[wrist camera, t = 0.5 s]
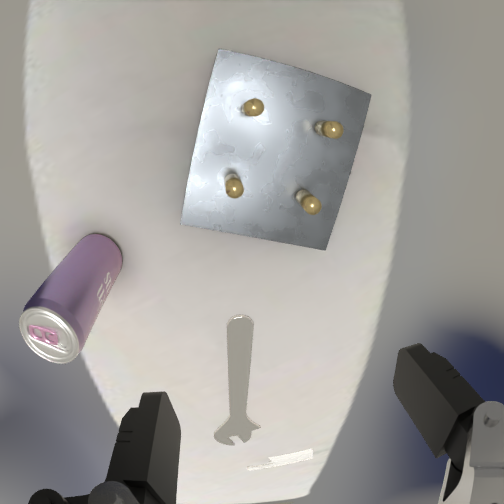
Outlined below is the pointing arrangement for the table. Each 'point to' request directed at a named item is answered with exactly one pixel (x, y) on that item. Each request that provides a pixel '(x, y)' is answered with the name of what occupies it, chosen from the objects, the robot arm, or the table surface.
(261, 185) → the chassis plate
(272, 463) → the white plastic blade
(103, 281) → the beverage can
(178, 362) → the table surface
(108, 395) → the table surface
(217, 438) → the wrench
